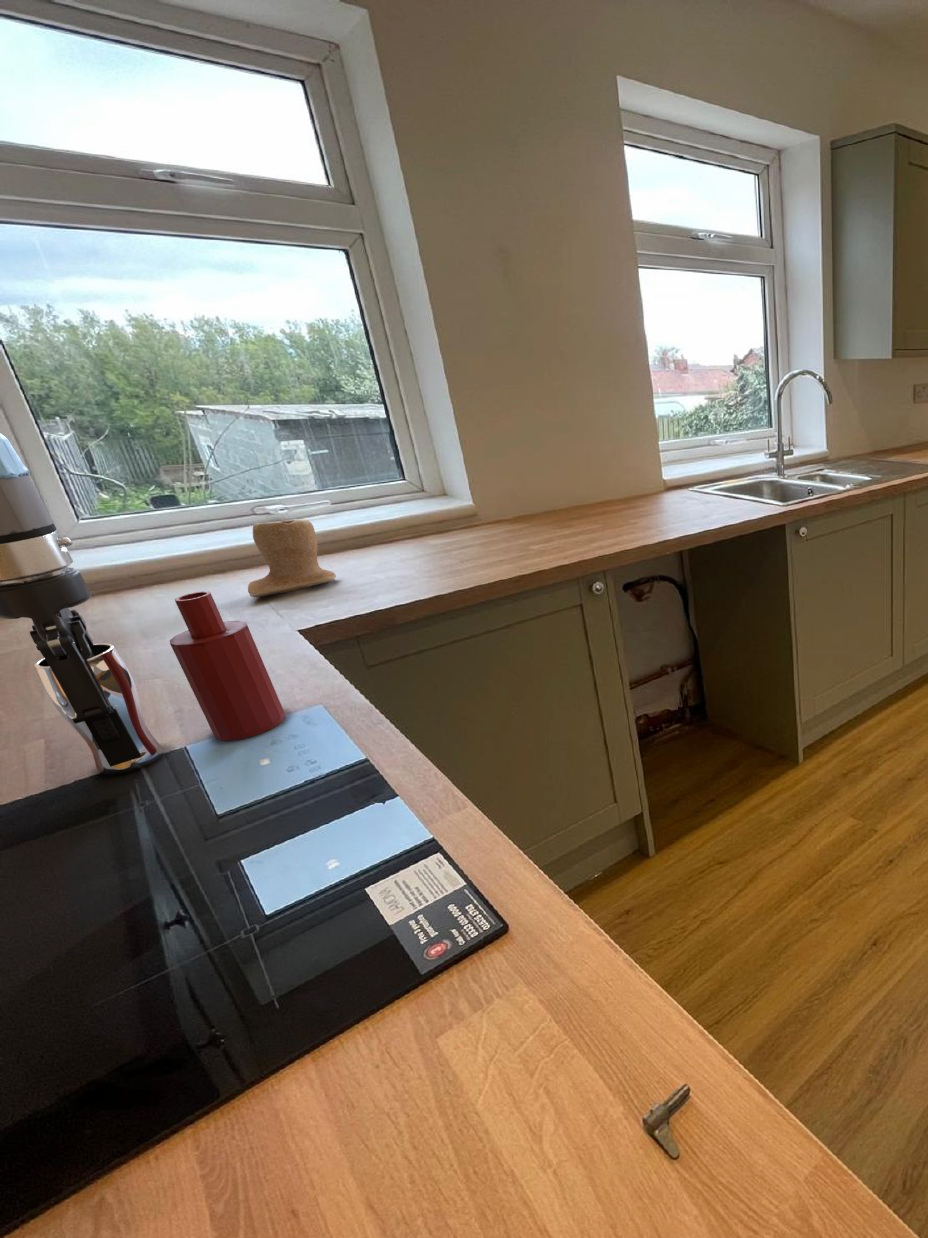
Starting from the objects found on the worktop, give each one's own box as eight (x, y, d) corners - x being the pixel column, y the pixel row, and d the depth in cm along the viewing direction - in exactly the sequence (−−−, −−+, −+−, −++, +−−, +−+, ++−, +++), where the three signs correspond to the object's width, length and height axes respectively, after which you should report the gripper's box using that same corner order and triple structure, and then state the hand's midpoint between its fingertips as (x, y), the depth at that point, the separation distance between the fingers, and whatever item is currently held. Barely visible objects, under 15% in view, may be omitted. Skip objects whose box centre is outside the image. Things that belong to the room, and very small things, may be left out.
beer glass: (116, 753, 87) (58, 648, 81) (181, 742, 89) (129, 638, 83) (79, 783, 81) (14, 672, 75) (149, 771, 83) (91, 662, 77)
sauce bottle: (217, 747, 87) (152, 612, 80) (213, 727, 92) (151, 597, 85) (289, 724, 92) (234, 594, 84) (281, 705, 97) (228, 581, 89)
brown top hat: (333, 573, 156) (310, 509, 150) (340, 585, 147) (316, 518, 141) (250, 590, 147) (222, 523, 141) (253, 604, 138) (223, 533, 133)
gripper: (71, 583, 71) (168, 766, 80) (81, 551, 84) (164, 712, 93) (-38, 604, 66) (79, 796, 75) (-10, 567, 79) (87, 735, 88)
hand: (126, 750), depth 84 cm, fingers closed on beer glass, 6 cm apart
